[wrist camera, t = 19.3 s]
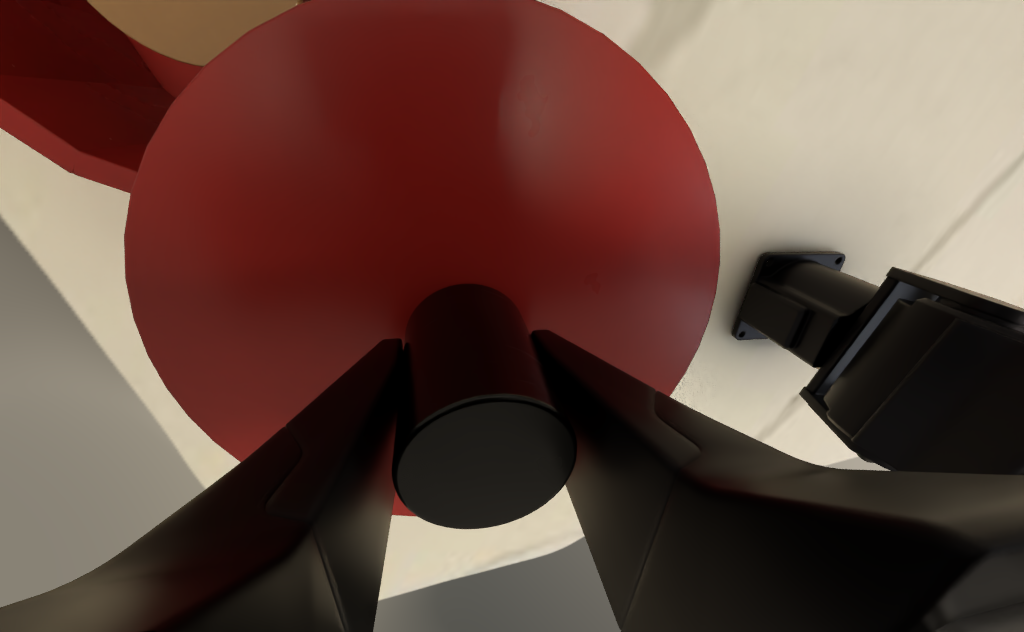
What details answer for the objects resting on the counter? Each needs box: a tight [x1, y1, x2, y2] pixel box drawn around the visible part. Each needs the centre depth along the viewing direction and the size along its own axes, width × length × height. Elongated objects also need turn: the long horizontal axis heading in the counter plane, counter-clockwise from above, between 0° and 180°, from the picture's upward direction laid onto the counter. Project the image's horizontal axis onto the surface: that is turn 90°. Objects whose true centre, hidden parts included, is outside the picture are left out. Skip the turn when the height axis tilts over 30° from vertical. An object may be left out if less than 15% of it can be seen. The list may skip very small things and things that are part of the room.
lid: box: [124, 0, 720, 529], centre depth 8 cm, size 14×14×5 cm
